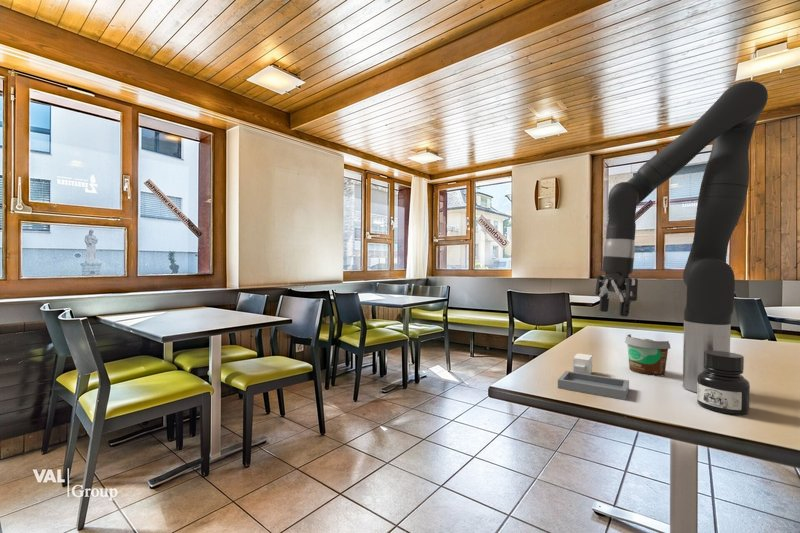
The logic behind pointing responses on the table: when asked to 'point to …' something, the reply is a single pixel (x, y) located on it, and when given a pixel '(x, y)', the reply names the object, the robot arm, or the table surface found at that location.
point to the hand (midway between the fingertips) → (613, 313)
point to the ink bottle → (723, 383)
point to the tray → (594, 384)
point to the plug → (582, 363)
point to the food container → (647, 355)
